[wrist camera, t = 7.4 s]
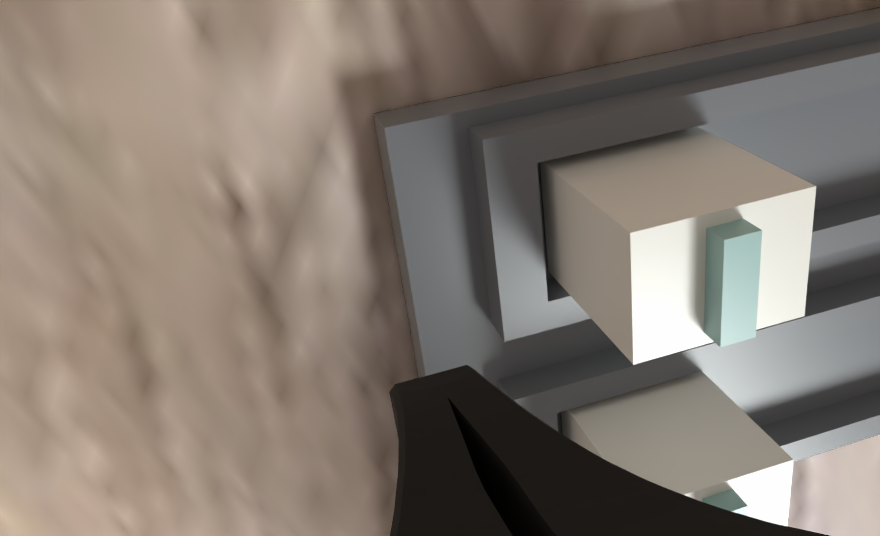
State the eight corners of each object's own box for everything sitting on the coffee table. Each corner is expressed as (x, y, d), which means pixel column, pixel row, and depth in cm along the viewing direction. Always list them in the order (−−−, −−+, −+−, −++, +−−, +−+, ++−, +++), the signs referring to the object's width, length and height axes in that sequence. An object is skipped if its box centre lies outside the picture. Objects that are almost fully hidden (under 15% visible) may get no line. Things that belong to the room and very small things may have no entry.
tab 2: (689, 443, 25) (800, 568, 20) (566, 481, 24) (653, 619, 20) (691, 360, 23) (810, 475, 19) (560, 398, 23) (651, 527, 18)
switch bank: (988, 355, 29) (1046, 390, 27) (443, 523, 25) (465, 577, 23) (1074, -34, 23) (1156, -24, 21) (373, 113, 19) (394, 140, 17)
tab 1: (690, 234, 21) (823, 329, 17) (548, 271, 21) (647, 380, 16) (692, 124, 20) (837, 196, 16) (539, 159, 19) (645, 245, 15)
